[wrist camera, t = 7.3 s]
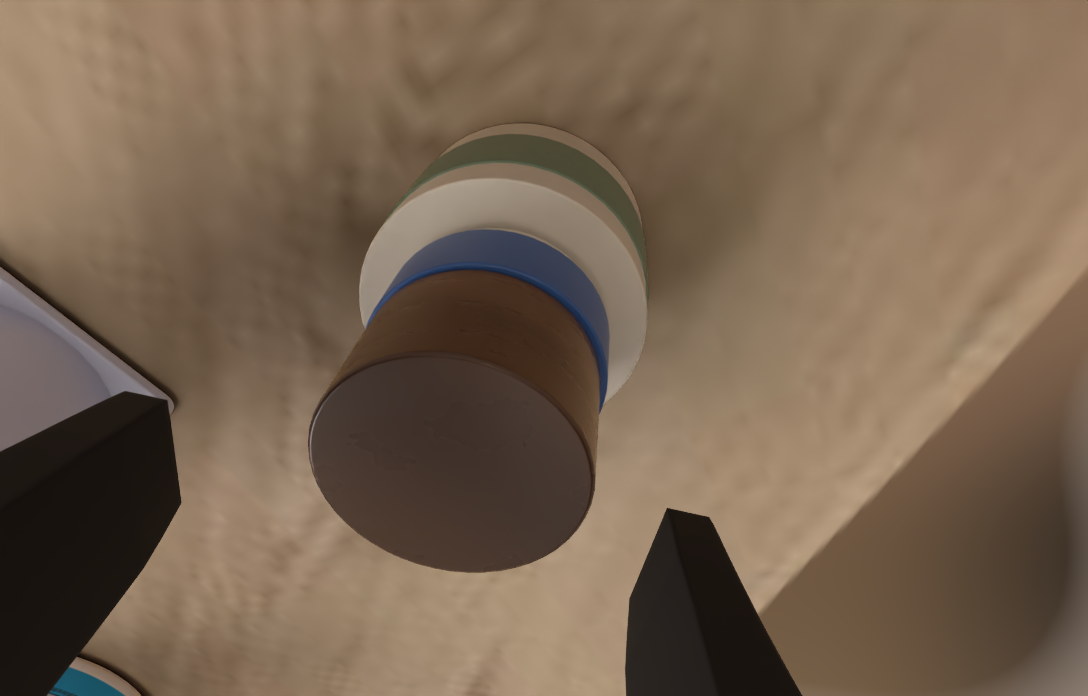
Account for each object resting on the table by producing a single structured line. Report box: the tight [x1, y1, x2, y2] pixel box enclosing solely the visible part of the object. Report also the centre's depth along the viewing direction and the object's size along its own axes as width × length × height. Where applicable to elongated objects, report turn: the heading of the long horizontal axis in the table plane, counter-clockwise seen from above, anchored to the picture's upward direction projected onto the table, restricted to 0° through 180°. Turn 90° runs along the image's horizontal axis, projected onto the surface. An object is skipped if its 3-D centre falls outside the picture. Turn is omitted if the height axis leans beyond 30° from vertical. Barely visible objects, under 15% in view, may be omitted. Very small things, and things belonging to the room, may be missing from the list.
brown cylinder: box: [308, 269, 601, 573], centre depth 12 cm, size 5×5×3 cm
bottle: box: [359, 123, 649, 414], centre depth 16 cm, size 6×6×7 cm
